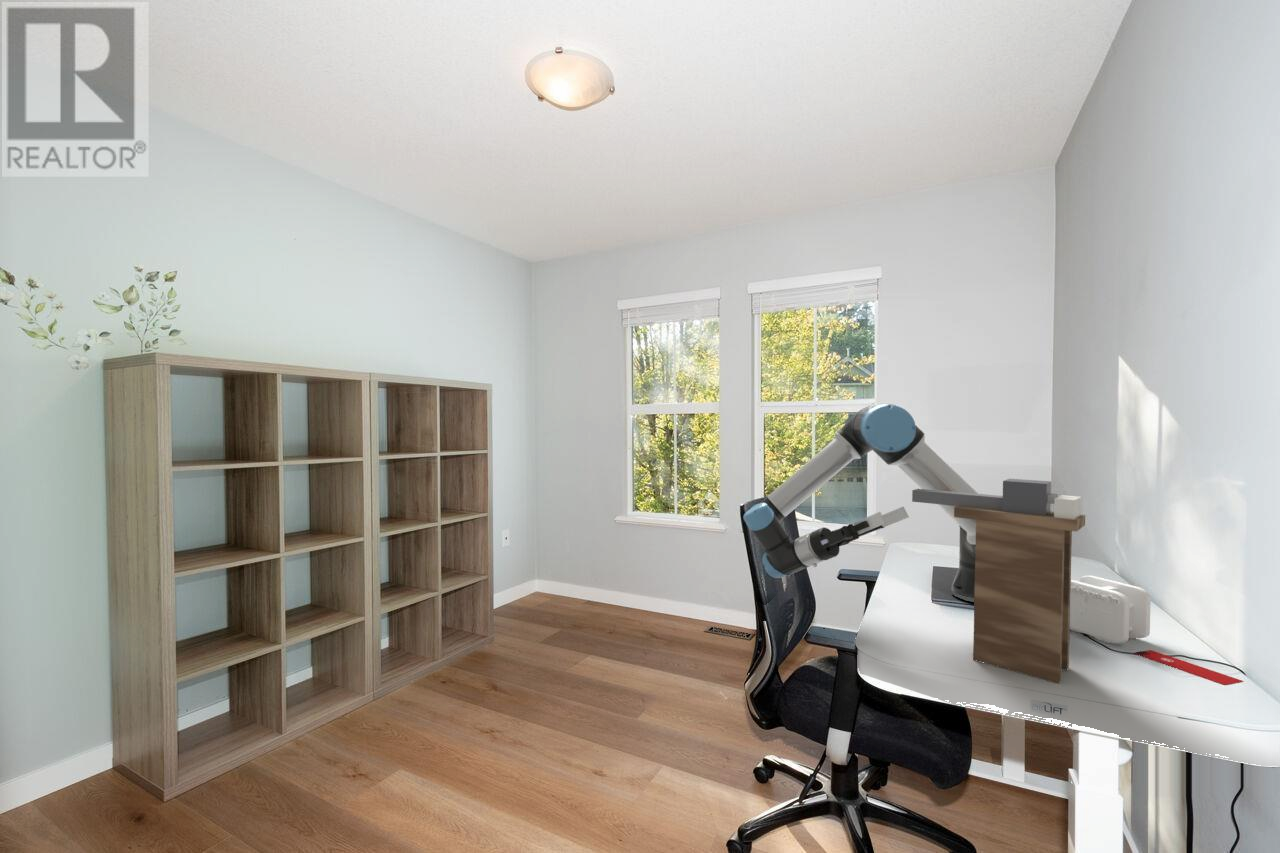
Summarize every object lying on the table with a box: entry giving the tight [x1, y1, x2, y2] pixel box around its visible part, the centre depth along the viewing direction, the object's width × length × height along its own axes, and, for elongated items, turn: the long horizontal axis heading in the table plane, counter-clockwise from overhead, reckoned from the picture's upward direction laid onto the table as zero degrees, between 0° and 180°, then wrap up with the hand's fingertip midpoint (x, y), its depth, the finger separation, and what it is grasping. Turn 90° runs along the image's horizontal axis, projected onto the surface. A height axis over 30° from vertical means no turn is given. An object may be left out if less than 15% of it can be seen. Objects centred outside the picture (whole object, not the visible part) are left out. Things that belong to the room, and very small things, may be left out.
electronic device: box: [1133, 649, 1244, 686], centre depth 112 cm, size 6×1×15 cm
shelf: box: [954, 506, 1086, 684], centre depth 113 cm, size 10×20×30 cm, turn 45°
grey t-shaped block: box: [911, 478, 1059, 516], centre depth 117 cm, size 7×25×6 cm, turn 48°
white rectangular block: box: [1053, 494, 1083, 519], centre depth 107 cm, size 8×3×4 cm, turn 135°
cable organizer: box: [1070, 575, 1152, 644], centre depth 129 cm, size 15×11×12 cm
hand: (894, 514), depth 129 cm, fingers open, 13 cm apart
